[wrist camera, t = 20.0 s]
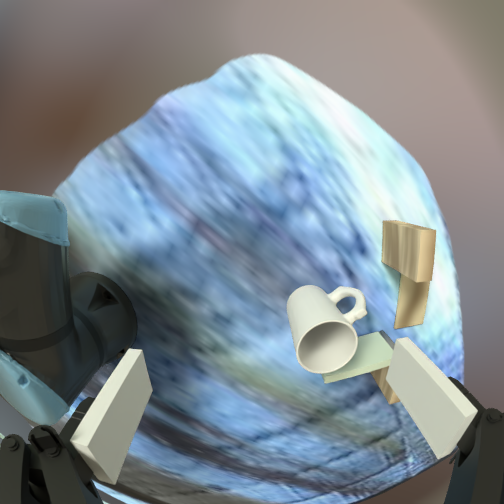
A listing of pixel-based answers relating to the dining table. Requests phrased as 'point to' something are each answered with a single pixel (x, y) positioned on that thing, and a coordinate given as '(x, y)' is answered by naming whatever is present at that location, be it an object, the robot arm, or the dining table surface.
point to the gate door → (365, 357)
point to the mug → (323, 327)
